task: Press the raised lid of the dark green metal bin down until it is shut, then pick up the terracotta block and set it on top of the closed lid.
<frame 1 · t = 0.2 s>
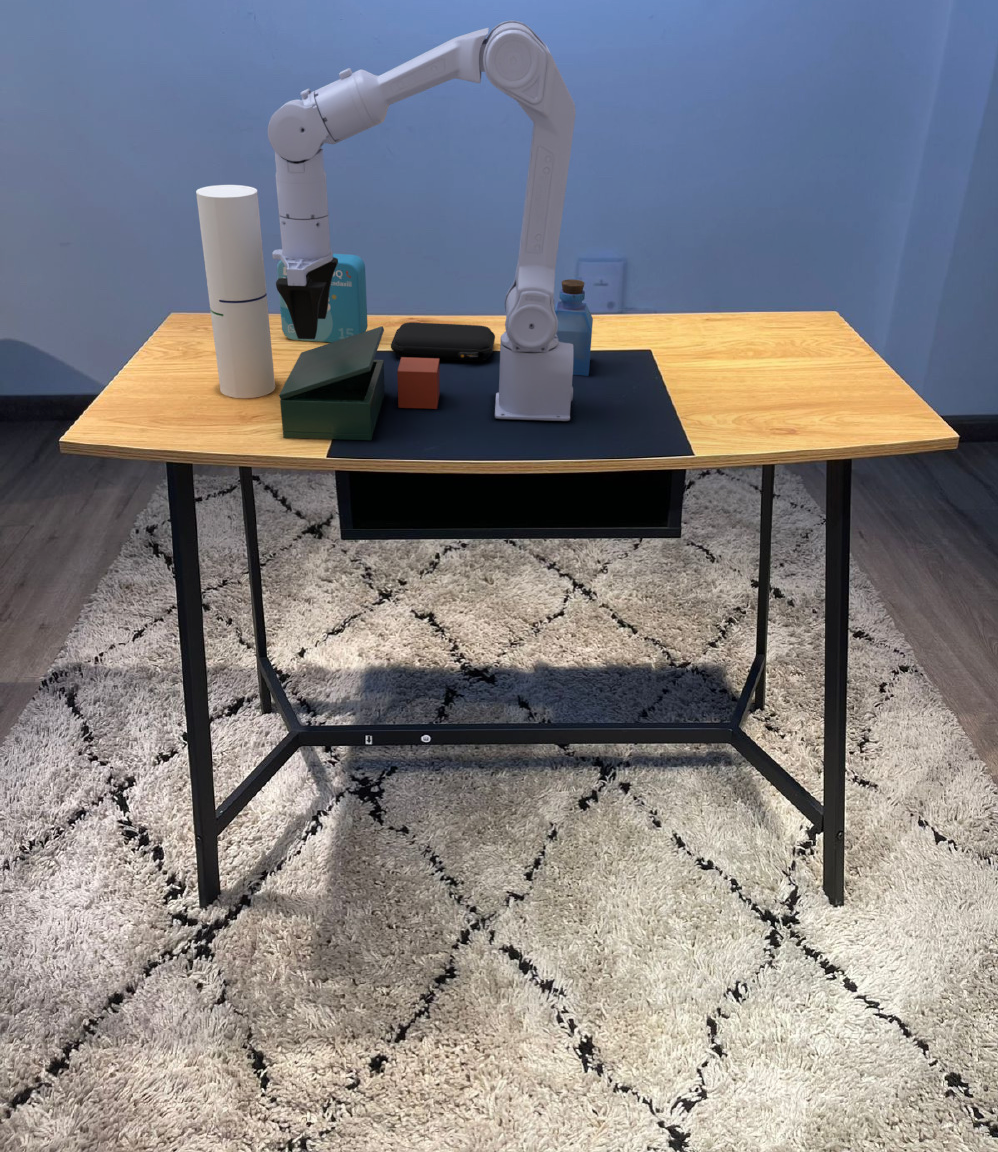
hand: (312, 327, 126), 10 cm above the table, tool pointing down, fingers open, 7 cm apart
carrying case: (443, 354, 149), on the table
cylindrical container: (247, 389, 136), on the table
bin: (336, 415, 129), on the table
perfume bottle: (567, 367, 146), on the table
data package: (325, 338, 153), on the table
bin lid: (333, 361, 125), point 7 cm above the table, hinge at 20.0°
block: (419, 401, 133), on the table
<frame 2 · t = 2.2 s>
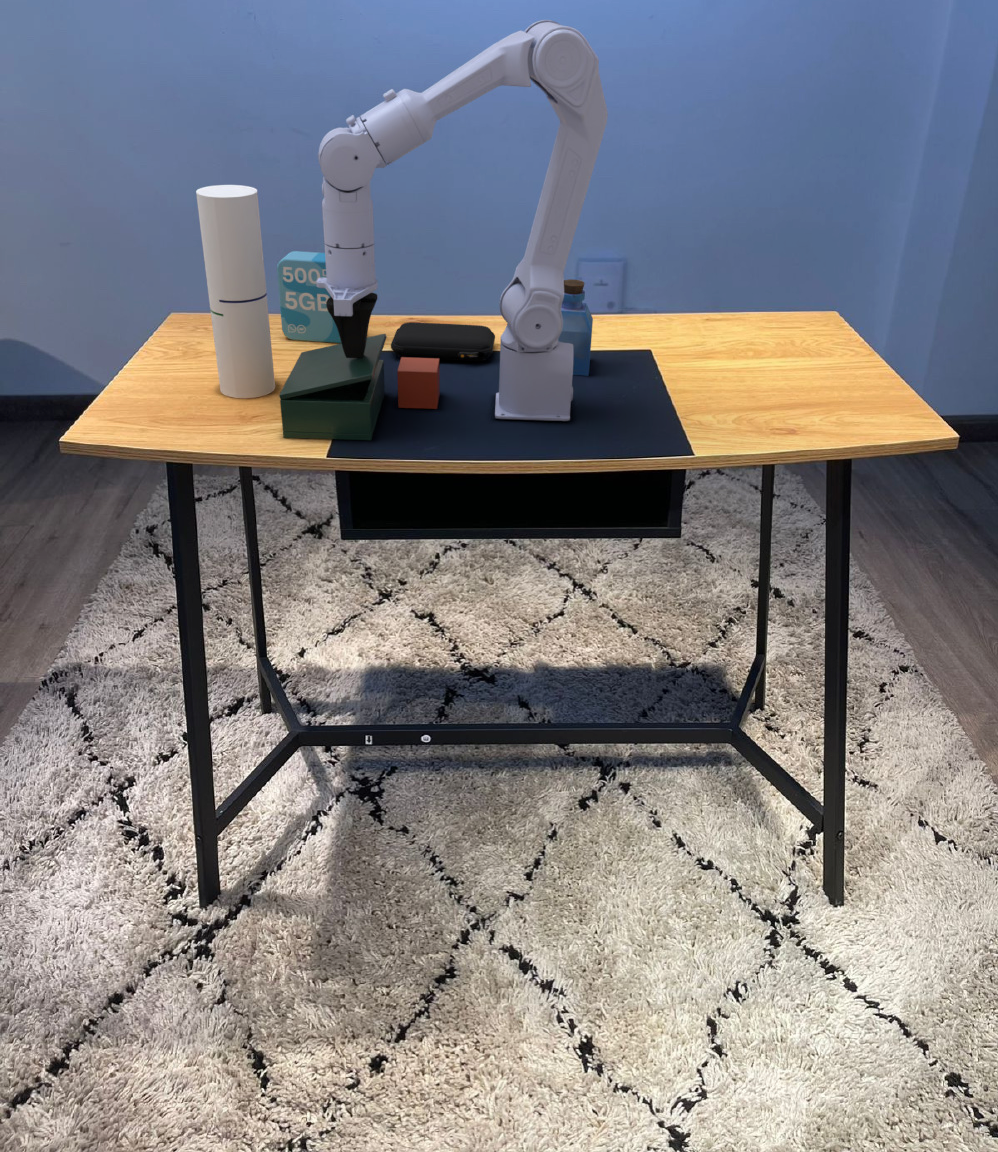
hand: (354, 356, 125), 8 cm above the table, tool pointing down, fingers closed, pressing on bin lid
bin lid: (335, 365, 125), point 7 cm above the table, hinge at 14.9°, touching gripper
everything else where it was.
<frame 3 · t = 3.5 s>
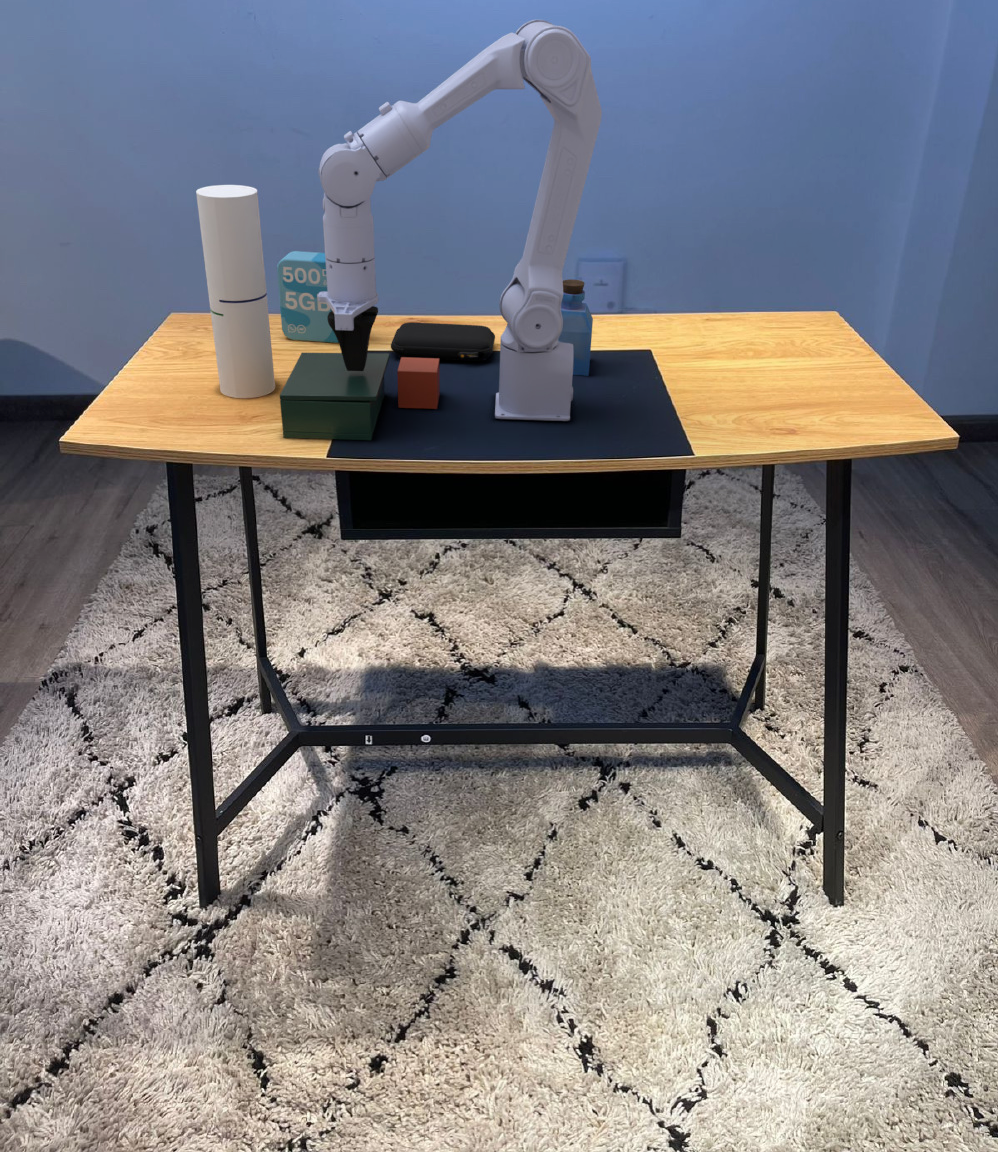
hand: (355, 369, 125), 6 cm above the table, tool pointing down, fingers closed
bin lid: (337, 375, 126), point 5 cm above the table, hinge at 1.3°
everything else where it was.
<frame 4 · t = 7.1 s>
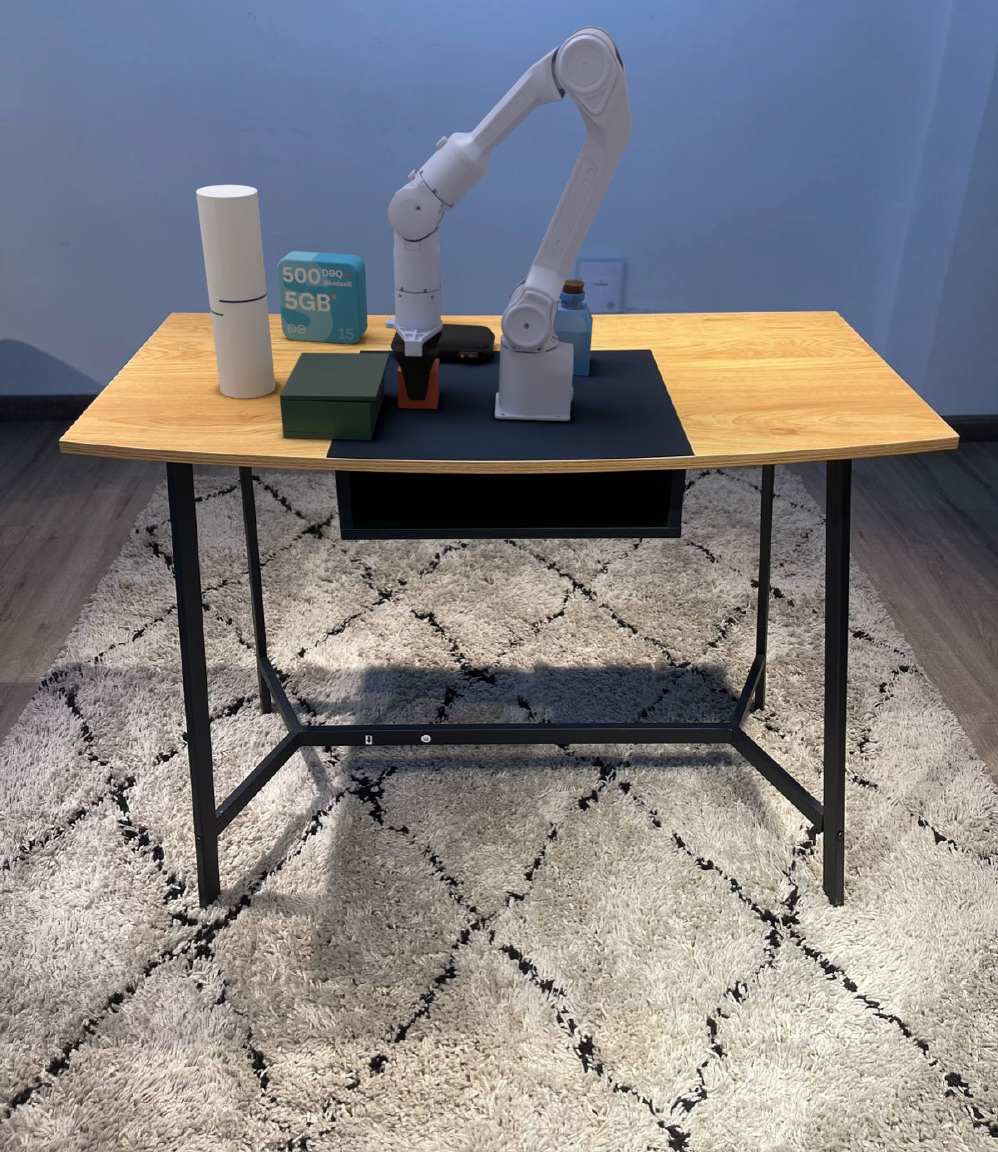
hand: (419, 390, 133), 1 cm above the table, tool pointing down, fingers closed on block, 5 cm apart
block: (419, 401, 133), on the table, touching gripper
everything else where it was.
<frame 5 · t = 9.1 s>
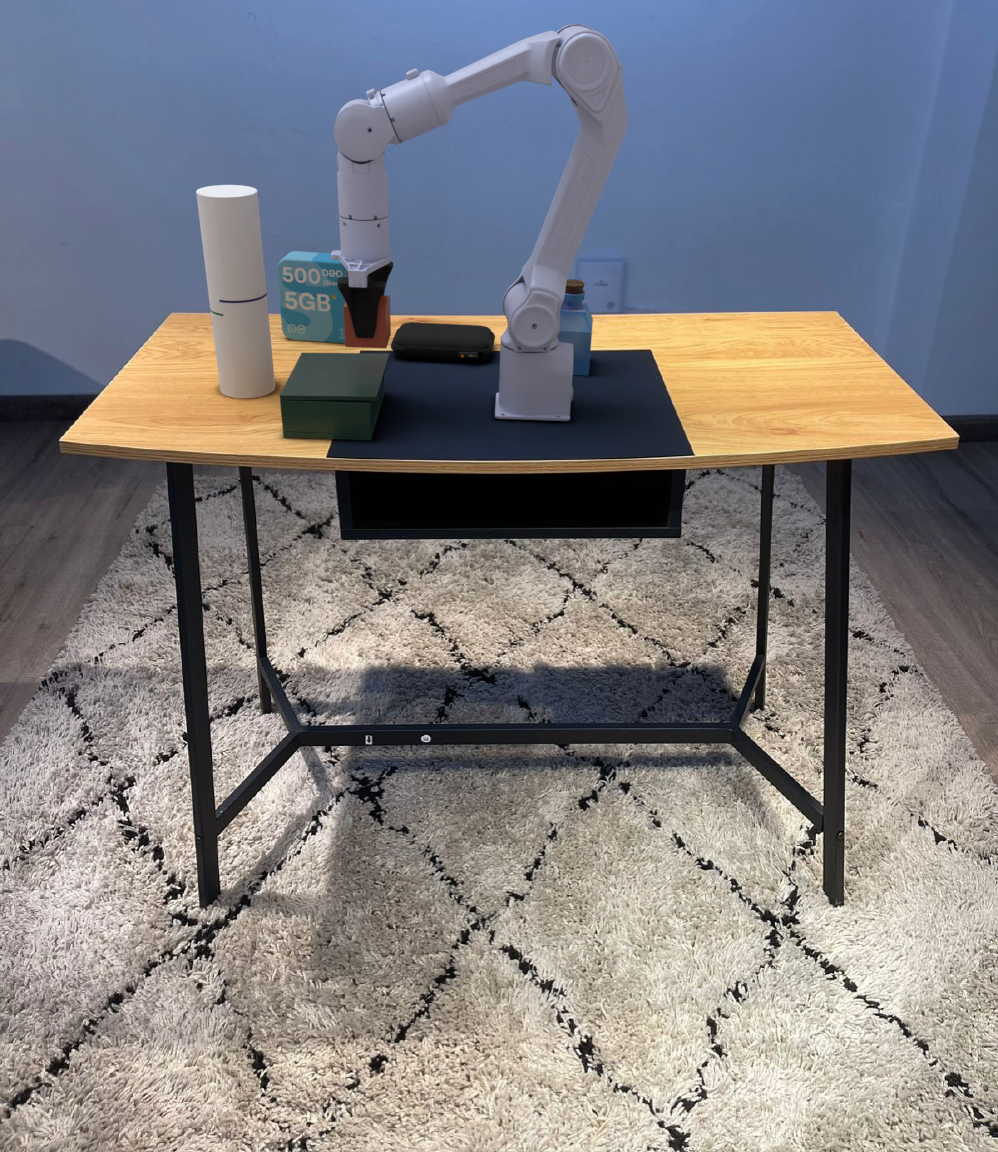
hand: (368, 329, 125), 10 cm above the table, tool pointing down, fingers closed on block, 5 cm apart
block: (368, 340, 126), point 9 cm above the table, touching gripper
everything else where it was.
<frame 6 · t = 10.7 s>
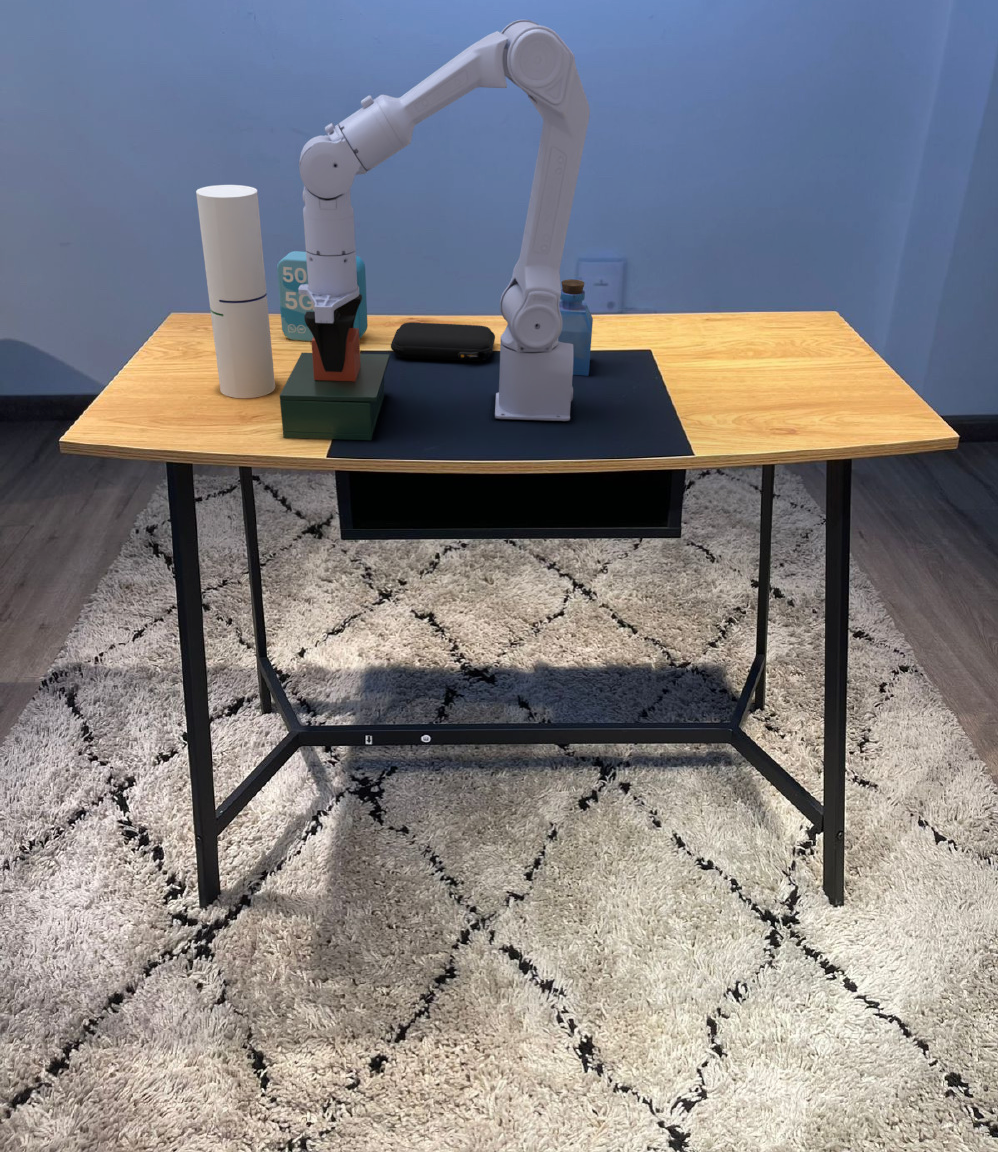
hand: (337, 362, 125), 7 cm above the table, tool pointing down, fingers closed on block, 5 cm apart
bin lid: (337, 375, 126), point 5 cm above the table, hinge at 0.7°, touching block
block: (337, 373, 126), point 6 cm above the table, touching bin lid, gripper
everything else where it was.
when the fingers open (7 cm above the table, at t = 11.0 s): block stays where it is, resting on bin lid.
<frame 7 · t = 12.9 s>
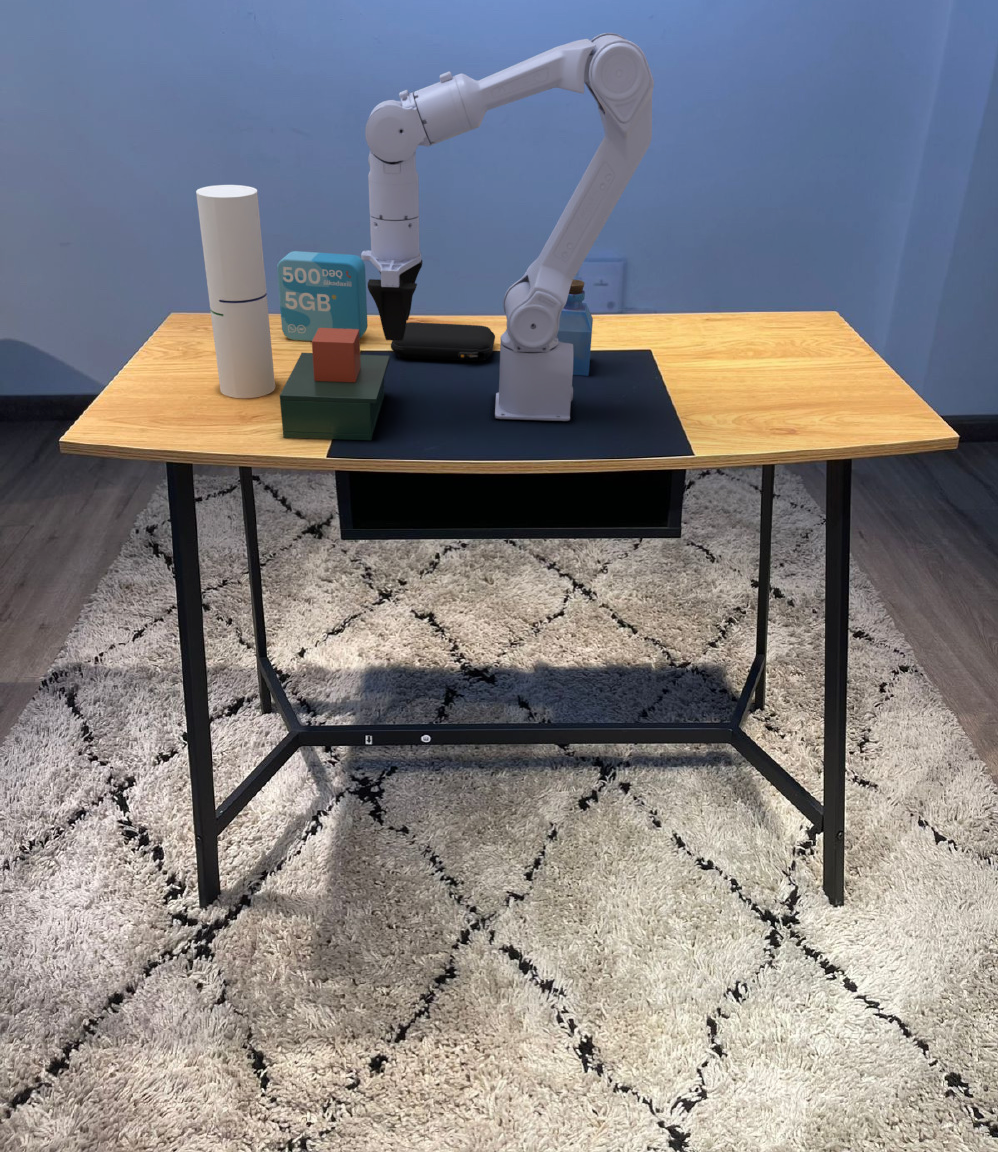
hand: (397, 329, 126), 10 cm above the table, tool pointing down, fingers open, 7 cm apart
bin lid: (337, 376, 126), point 5 cm above the table, hinge at -0.3°, touching bin, block
block: (337, 374, 126), point 5 cm above the table, touching bin lid
everything else where it was.
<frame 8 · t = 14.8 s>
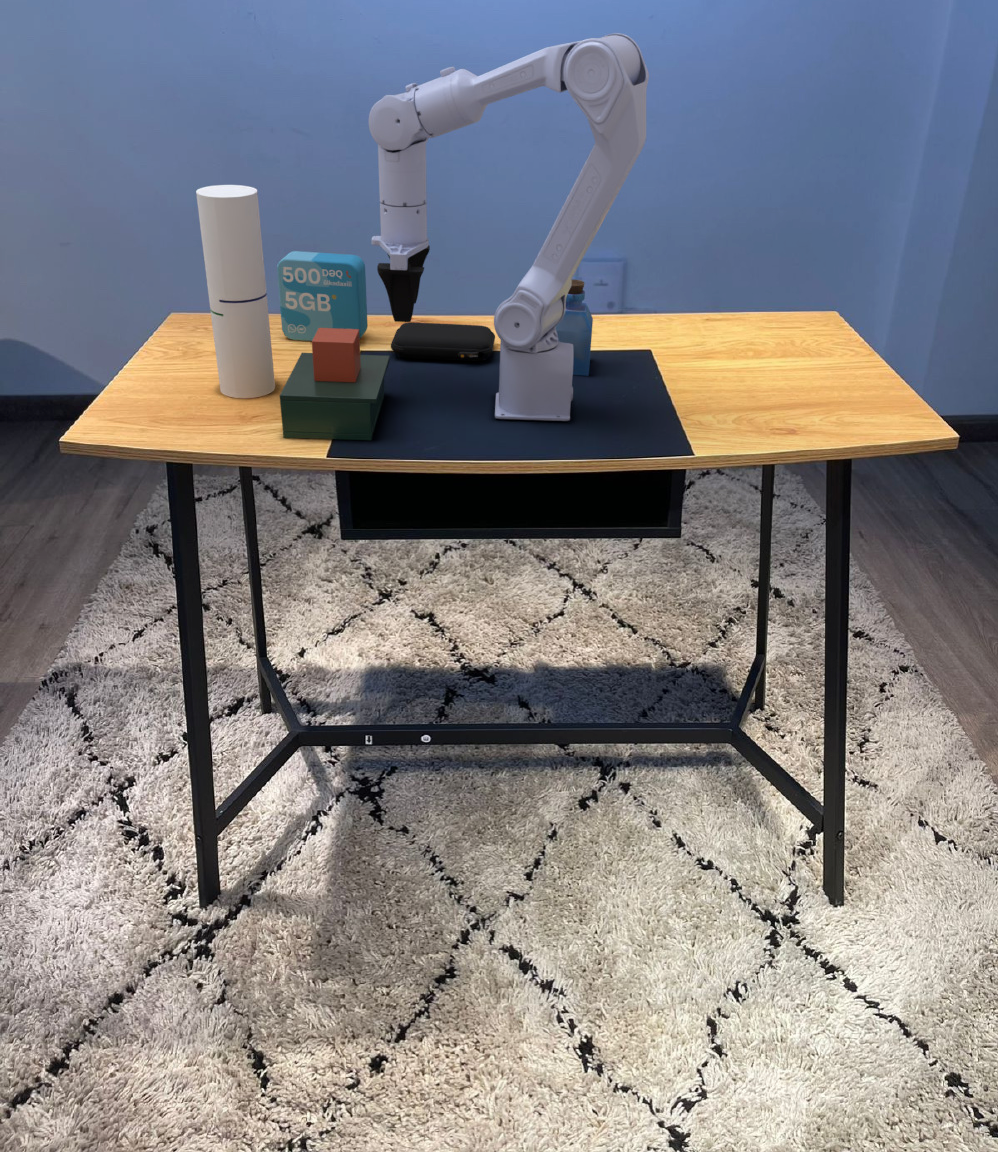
hand: (405, 311, 132), 10 cm above the table, tool pointing down, fingers open, 7 cm apart
nothing on the table moved.
at the end: bin lid at +0° (first picture: +20°); block inside the target area on the bin (0.0 cm from its centre), point 5.4 cm above the bin's base; block tilted 0° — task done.
